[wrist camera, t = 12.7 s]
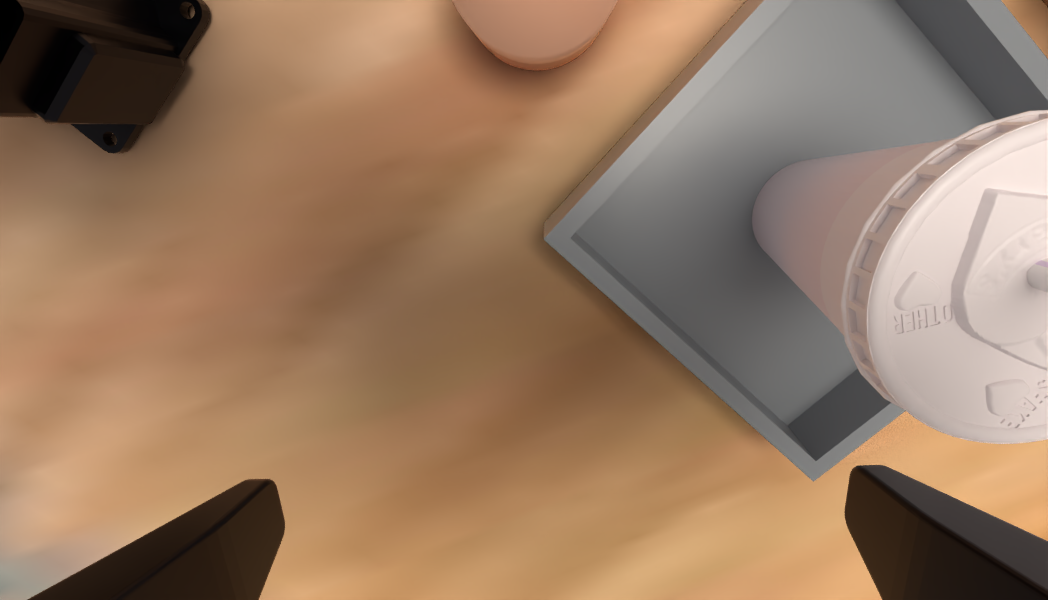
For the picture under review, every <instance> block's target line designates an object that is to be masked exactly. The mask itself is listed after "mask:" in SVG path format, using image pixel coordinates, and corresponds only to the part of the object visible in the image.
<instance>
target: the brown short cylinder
mask: <svg viewBox="0 0 1048 600" xmlns="http://www.w3.org/2000/svg"><path fill="white" fill-rule="evenodd" d="M617 1H618V0H452V2H453V3H454V5H455V7H456V9H457V11H458V12H459V14H460V15H461V17H462V18H463V19H464V21H465V22H466V23H467V25H468V26H469V27H470V29H471V30H472V31H473V32H474V34H475V35H476V36H477V38H478V39H479V40H480V41H481V43H482V44H483V45H484V46H485V47H486V48H487V49H488V51H490V52H491V53H492V54H493V55H494V56H496V57H497V58H498V59H500V60H502V61H503V62H505V63H507V64H509V65H511V66H514V67H517V68H520V69H525V70H539V71H541V70H549V69H553V68H557V67H560V66H562V65H565V64H567V63H569V62H571V61H572V60H574V59H576V58H577V57H578V56H580V55H581V54H582V53H583V52H585V51H586V50H587V49H588V48H589V47H590V45H591V44H592V43H593V42H594V41H595V39H596V38H597V37H598V35H599V33H600V32H601V30H602V28H603V26H604V25H605V23H606V21H607V19H608V17H609V16H610V14H611V12H612V10H613V8H614V7H615V5H616V3H617Z"/></svg>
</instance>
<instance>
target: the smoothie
mask: <svg viewBox="0 0 1048 600" xmlns="http://www.w3.org/2000/svg"><path fill="white" fill-rule="evenodd" d="M752 227H753V232H754V235H755V238H756V240H757V242H758V244H759V245H760V247H761V248H762V249H763V250H764V251H765V252H766V253H767V254H768V255H769V256H770V258H771V259H772V260H773V261H774V262H775V263H776V264H777V265H778V266H779V267H780V268H781V269H782V270H783V271H784V272H785V273H786V274H787V275H788V277H789V278H790V279H791V280H792V281H793V282H794V283H795V284H796V285H797V286H798V287H799V288H800V289H801V290H802V291H803V292H804V293H805V294H806V296H807V297H808V298H809V299H810V300H811V301H812V302H813V303H814V304H815V305H816V306H817V307H818V308H819V309H820V310H821V311H822V312H823V313H824V314H825V316H826V317H827V318H828V319H829V320H830V321H831V322H832V323H833V324H834V325H835V326H836V327H837V328H838V330H839V331H840V332H841V333H842V334H843V335H844V339H845V343H846V345H847V347H848V349H849V351H850V353H851V355H852V357H853V359H854V361H855V364H856V366H857V368H858V370H859V372H860V374H861V375H862V376H863V377H864V378H865V379H866V380H867V381H868V382H869V383H870V384H871V385H872V386H873V387H874V388H875V389H876V390H877V391H878V392H879V393H880V394H881V395H882V397H883V398H884V399H886V400H888V401H890V402H891V403H893V404H895V405H897V406H899V407H901V408H902V409H904V410H906V411H907V412H908V413H910V414H911V415H912V416H913V417H915V418H916V419H918V420H919V421H921V422H922V423H924V424H926V425H927V426H929V427H931V428H933V429H936V430H938V431H940V432H942V433H945V434H948V435H951V436H953V437H957V438H961V439H965V440H969V441H976V442H982V443H994V444H1016V443H1027V442H1035V441H1041V440H1047V439H1048V110H1037V111H1027V112H1023V113H1020V114H1016V115H1013V116H1009V117H1006V118H1002V119H999V120H995V121H991V122H988V123H984V124H981V125H978V126H976V127H974V128H973V129H971V130H969V131H967V132H965V133H963V134H962V135H960V136H958V137H956V138H953V139H946V140H941V141H937V142H930V143H922V144H915V145H908V146H901V147H894V148H887V149H880V150H873V151H866V152H859V153H852V154H845V155H838V156H831V157H824V158H817V159H810V160H803V161H799V162H796V163H793V164H791V165H788V166H786V167H785V168H783V169H781V170H780V171H778V172H777V173H776V174H774V175H773V176H772V177H771V178H770V179H769V180H768V181H767V182H766V183H765V185H764V186H763V187H762V189H761V191H760V192H759V194H758V196H757V198H756V201H755V204H754V207H753V212H752Z"/></svg>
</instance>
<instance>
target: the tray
mask: <svg viewBox="0 0 1048 600" xmlns="http://www.w3.org/2000/svg"><path fill="white" fill-rule="evenodd" d="M1037 110H1048V59H1047V58H1046V56H1045V55H1044V54H1043V52H1042V51H1041V50H1040V49H1039V47H1038V46H1037V45H1036V44H1035V42H1034V41H1033V40H1032V39H1031V37H1030V36H1029V35H1028V34H1027V32H1026V31H1025V30H1024V29H1023V27H1022V26H1021V25H1020V24H1019V22H1018V21H1017V20H1016V19H1015V17H1014V16H1013V15H1012V14H1011V12H1010V11H1009V10H1008V9H1007V7H1006V6H1005V5H1004V4H1003V2H1002V1H1001V0H747V1H746V2H745V3H744V4H743V5H742V6H741V7H740V8H739V10H738V11H737V12H736V13H735V14H734V15H733V16H732V17H731V18H730V19H729V21H728V22H727V23H726V24H725V25H724V26H723V27H722V28H721V29H720V30H719V31H718V33H717V34H716V35H715V36H714V37H713V38H712V39H711V40H710V41H709V42H708V44H707V45H706V46H705V47H704V48H703V49H702V50H701V51H700V52H699V53H698V55H697V56H696V57H695V58H694V59H693V60H692V61H691V62H690V63H689V64H688V65H687V67H686V68H685V69H684V70H683V71H682V72H681V73H680V74H679V75H678V76H677V78H676V79H675V80H674V81H673V82H672V83H671V84H670V85H669V86H668V87H667V88H666V90H665V91H664V92H663V93H662V94H661V95H660V96H659V97H658V98H657V99H656V101H655V102H654V103H653V104H652V105H651V106H650V107H649V108H648V109H647V110H646V111H645V113H644V114H643V115H642V116H641V117H640V118H639V119H638V120H637V121H636V122H635V124H634V125H633V126H632V127H631V128H630V129H629V130H628V131H627V132H626V133H625V134H624V136H623V137H622V138H621V139H620V140H619V141H618V142H617V143H616V144H615V145H614V147H613V148H612V149H611V150H610V151H609V152H608V153H607V154H606V155H605V156H604V157H603V159H602V160H601V161H600V162H599V163H598V164H597V165H596V166H595V167H594V168H593V170H592V171H591V172H590V173H589V174H588V175H587V176H586V177H585V178H584V179H583V180H582V182H581V183H580V184H579V185H578V186H577V187H576V188H575V189H574V190H573V191H572V193H571V194H570V195H569V196H568V197H567V198H566V199H565V200H564V201H563V202H562V203H561V205H560V206H559V207H558V208H557V209H556V210H555V211H554V212H553V213H552V214H551V216H550V217H549V218H548V219H547V220H546V221H545V222H544V240H545V241H546V242H547V243H548V244H549V245H550V246H551V247H553V248H554V249H555V250H556V251H557V252H558V253H559V254H560V255H561V256H563V257H564V258H565V259H566V260H567V261H568V262H569V263H570V264H571V265H573V266H574V267H575V268H576V269H577V270H578V271H579V272H580V273H582V274H583V275H584V276H585V277H586V278H587V279H588V280H589V281H590V282H592V283H593V284H594V285H595V286H596V287H597V288H598V289H599V290H600V291H602V292H603V293H604V294H605V295H606V296H607V297H608V298H609V299H611V300H612V301H613V302H614V303H615V304H616V305H617V306H618V307H619V308H621V309H622V310H623V311H624V312H625V313H626V314H627V315H628V316H629V317H631V318H632V319H633V320H634V321H635V322H636V323H637V324H638V325H639V326H641V327H642V328H643V329H644V330H645V331H646V332H647V333H648V334H650V335H651V336H652V337H653V338H654V339H655V340H656V341H657V342H658V343H660V344H661V345H662V346H663V347H664V348H665V349H666V350H667V351H668V352H670V353H671V354H672V355H673V356H674V357H675V358H676V359H677V360H679V361H680V362H681V363H682V364H683V365H684V366H685V367H686V368H687V369H689V370H690V371H691V372H692V373H693V374H694V375H695V376H696V377H697V378H699V379H700V380H701V381H702V382H703V383H704V384H705V385H706V386H708V387H709V388H710V389H711V390H712V391H713V392H714V393H715V394H716V395H718V396H719V397H720V398H721V399H722V400H723V401H724V402H725V403H726V404H728V405H729V406H730V407H731V408H732V409H733V410H734V411H735V412H737V413H738V414H739V415H740V416H741V417H742V418H743V419H744V420H745V421H747V422H748V423H749V424H750V425H751V426H752V427H753V428H754V429H755V430H757V431H758V432H759V433H760V434H761V435H762V436H763V437H764V438H766V439H767V440H768V441H769V442H770V443H771V444H772V445H773V446H774V447H776V448H777V449H778V450H779V451H780V452H781V453H782V454H783V455H784V456H786V457H787V458H788V459H789V460H790V461H791V462H792V463H793V464H794V465H796V466H797V467H798V468H799V469H800V470H801V471H802V472H803V473H805V474H806V475H807V476H808V477H809V478H810V479H811V480H812V481H815V480H816V479H817V478H819V477H820V476H821V475H823V474H824V473H825V472H827V471H828V470H829V469H830V468H832V467H833V466H834V465H836V464H837V463H838V462H840V461H841V460H842V459H843V458H845V457H846V456H847V455H849V454H850V453H851V452H853V451H854V450H855V449H856V448H858V447H859V446H860V445H862V444H863V443H864V442H866V441H867V440H868V439H869V438H871V437H872V436H873V435H875V434H876V433H877V432H879V431H880V430H881V429H882V428H884V427H885V426H886V425H888V424H889V423H890V422H892V421H893V420H894V419H895V418H897V417H898V416H899V415H901V414H902V413H903V412H905V411H906V410H904V409H902V408H901V407H899V406H897V405H895V404H893V403H891V402H890V401H888V400H886V399H884V398H883V397H882V395H881V394H880V393H879V392H878V391H877V390H876V389H875V388H874V387H873V386H872V385H871V384H870V383H869V382H868V381H867V380H866V379H865V378H864V377H863V376H862V375H861V374H860V372H859V370H858V368H857V366H856V364H855V361H854V359H853V357H852V355H851V353H850V351H849V349H848V347H847V345H846V343H845V339H844V335H843V334H842V333H841V332H840V331H839V330H838V328H837V327H836V326H835V325H834V324H833V323H832V322H831V321H830V320H829V319H828V318H827V317H826V316H825V314H824V313H823V312H822V311H821V310H820V309H819V308H818V307H817V306H816V305H815V304H814V303H813V302H812V301H811V300H810V299H809V298H808V297H807V296H806V294H805V293H804V292H803V291H802V290H801V289H800V288H799V287H798V286H797V285H796V284H795V283H794V282H793V281H792V280H791V279H790V278H789V277H788V275H787V274H786V273H785V272H784V271H783V270H782V269H781V268H780V267H779V266H778V265H777V264H776V263H775V262H774V261H773V260H772V259H771V258H770V256H769V255H768V254H767V253H766V252H765V251H764V250H763V249H762V248H761V247H760V245H759V244H758V242H757V240H756V238H755V235H754V232H753V227H752V212H753V207H754V204H755V201H756V198H757V196H758V194H759V192H760V191H761V189H762V187H763V186H764V185H765V183H766V182H767V181H768V180H769V179H770V178H771V177H772V176H773V175H774V174H776V173H777V172H778V171H780V170H781V169H783V168H785V167H786V166H788V165H791V164H793V163H796V162H799V161H803V160H810V159H817V158H824V157H831V156H838V155H845V154H852V153H859V152H866V151H873V150H880V149H887V148H894V147H901V146H908V145H915V144H922V143H930V142H937V141H941V140H946V139H953V138H956V137H958V136H960V135H962V134H963V133H965V132H967V131H969V130H971V129H973V128H974V127H976V126H978V125H981V124H984V123H988V122H991V121H995V120H999V119H1002V118H1006V117H1009V116H1013V115H1016V114H1020V113H1023V112H1027V111H1037Z"/></svg>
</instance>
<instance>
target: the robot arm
mask: <svg viewBox="0 0 1048 600" xmlns="http://www.w3.org/2000/svg"><path fill="white" fill-rule="evenodd" d="M190 5H193V7H194V9H195V15H194V17H193V18H191V19H190V17H189V16H188V12H187V11H188V7H189V6H190ZM208 20H209V10H208V8H207V5H206V4H205V3H204V2H203V1H202V0H0V117H38V118H40V119H42V120H43V121H44V122H46V123H49V124H71V125H73V126H74V127H75V128H76V129H78V130H79V131H80V132H81V133H83V134H84V135H85V136H87V137H88V138H89V139H90V140H92V141H93V142H94V143H95V144H97V145H98V146H99V147H101V148H102V149H103V150H105V151H107V152H108V153H124V152H127V151H128V150H129V149H130V148H131V146H132V145H133V143H134V142H135V140H136V138H137V137H138V135H139V133H140V132H141V130H142V129H143V127H144V125H145V124H150V123H151V122H152V121H153V119H154V118H155V116H156V114H157V113H158V111H159V110H160V108H161V106H162V105H163V103H164V102H165V100H166V98H167V97H168V95H169V94H170V92H171V90H172V89H173V87H174V85H175V84H176V82H177V81H178V79H179V77H180V76H181V74H182V73H183V71H184V61H185V59H186V57H187V56H188V54H189V53H190V51H191V49H192V48H193V46H194V44H195V43H196V41H197V40H198V38H199V36H200V35H201V33H202V32H203V30H204V28H205V27H206V25H207V23H208ZM112 134H114V135H115V136H116V138H117V143H116V144H114V142H113V141H112V138H111V137H112ZM845 520H846V524H847V527H848V529H849V532H850V534H851V536H852V538H853V540H854V542H855V544H856V546H857V548H858V550H859V552H860V554H861V556H862V558H863V561H864V563H865V565H866V567H867V569H868V571H869V573H870V575H871V577H872V579H873V581H874V583H875V585H876V587H877V590H878V592H879V594H880V596H881V598H882V600H1048V541H1046V540H1044V539H1042V538H1040V537H1037V536H1035V535H1033V534H1031V533H1029V532H1027V531H1024V530H1022V529H1020V528H1018V527H1016V526H1014V525H1012V524H1009V523H1007V522H1005V521H1003V520H1001V519H999V518H996V517H994V516H992V515H990V514H988V513H986V512H984V511H981V510H979V509H977V508H975V507H973V506H971V505H968V504H966V503H964V502H962V501H960V500H958V499H955V498H953V497H951V496H949V495H947V494H945V493H943V492H940V491H938V490H936V489H934V488H932V487H930V486H927V485H925V484H923V483H921V482H919V481H917V480H915V479H912V478H910V477H908V476H906V475H904V474H902V473H899V472H897V471H895V470H893V469H891V468H889V467H886V466H883V465H864V466H856V467H854V468H853V469H852V471H851V473H850V478H849V485H848V491H847V498H846V505H845ZM284 530H285V520H284V516H283V511H282V507H281V503H280V498H279V494H278V490H277V486H276V484H275V483H274V481H272V480H270V479H249V480H245V481H243V482H241V483H239V484H237V485H235V486H234V487H232V488H230V489H228V490H226V491H225V492H223V493H221V494H219V495H217V496H215V497H214V498H212V499H210V500H208V501H206V502H204V503H203V504H201V505H199V506H197V507H195V508H194V509H192V510H190V511H188V512H186V513H184V514H183V515H181V516H179V517H177V518H175V519H173V520H172V521H170V522H168V523H166V524H164V525H163V526H161V527H159V528H157V529H155V530H153V531H152V532H150V533H148V534H146V535H144V536H143V537H141V538H139V539H137V540H135V541H133V542H132V543H130V544H128V545H126V546H124V547H122V548H121V549H119V550H117V551H115V552H113V553H112V554H110V555H108V556H106V557H104V558H102V559H101V560H99V561H97V562H95V563H93V564H91V565H90V566H88V567H86V568H84V569H82V570H81V571H79V572H77V573H75V574H73V575H71V576H70V577H68V578H66V579H64V580H62V581H61V582H59V583H57V584H55V585H53V586H51V587H50V588H48V589H46V590H44V591H42V592H40V593H39V594H37V595H35V596H33V597H31V598H30V599H28V600H259V597H260V595H261V592H262V590H263V587H264V585H265V582H266V580H267V577H268V574H269V572H270V569H271V567H272V564H273V562H274V559H275V557H276V554H277V551H278V549H279V546H280V544H281V541H282V538H283V535H284Z"/></svg>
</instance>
